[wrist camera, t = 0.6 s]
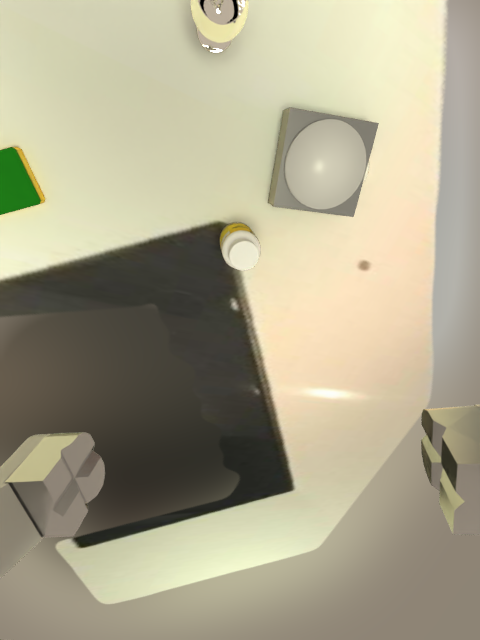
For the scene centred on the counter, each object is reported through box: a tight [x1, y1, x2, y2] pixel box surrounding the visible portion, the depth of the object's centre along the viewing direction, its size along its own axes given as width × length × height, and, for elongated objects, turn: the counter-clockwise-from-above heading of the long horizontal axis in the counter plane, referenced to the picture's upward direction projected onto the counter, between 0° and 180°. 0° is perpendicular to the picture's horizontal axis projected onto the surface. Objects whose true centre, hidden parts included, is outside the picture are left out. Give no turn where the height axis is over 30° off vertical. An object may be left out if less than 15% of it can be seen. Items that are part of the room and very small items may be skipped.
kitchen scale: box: [268, 108, 379, 217], centre depth 49 cm, size 12×13×5 cm
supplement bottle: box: [219, 222, 261, 271], centre depth 50 cm, size 5×5×10 cm
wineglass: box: [191, 0, 249, 53], centre depth 38 cm, size 6×6×12 cm
